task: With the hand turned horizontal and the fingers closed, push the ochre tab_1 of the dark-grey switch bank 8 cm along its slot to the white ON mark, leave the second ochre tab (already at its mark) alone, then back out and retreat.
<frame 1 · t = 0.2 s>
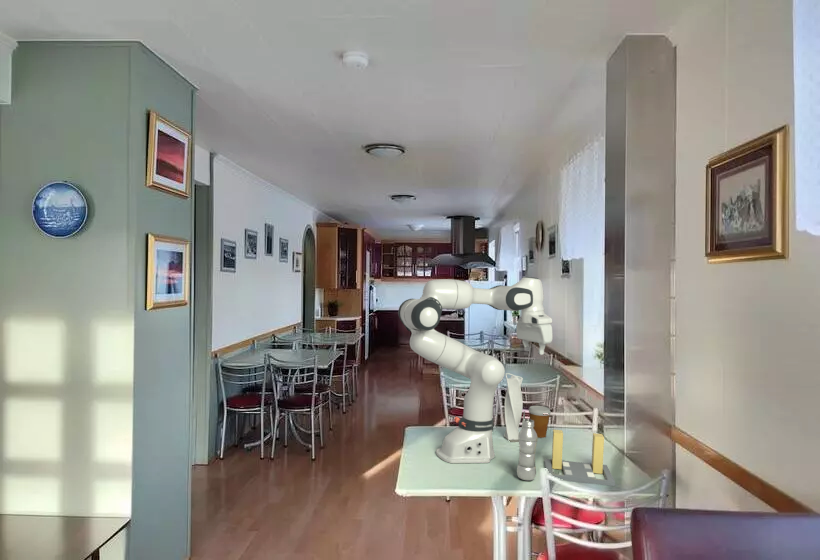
hand: (534, 352, 210), 39 cm above the table, tool pointing down, fingers open, 8 cm apart
disposable coffee cup: (538, 436, 231), on the table
tab 1: (597, 453, 191), point 7 cm above the table, slide at 0.0 cm
tab 2: (557, 449, 193), point 7 cm above the table, slide at 0.0 cm
switch bank: (577, 473, 188), on the table
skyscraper: (512, 439, 225), on the table
coffee jar: (474, 432, 232), on the table
plastic bottle: (526, 479, 181), on the table
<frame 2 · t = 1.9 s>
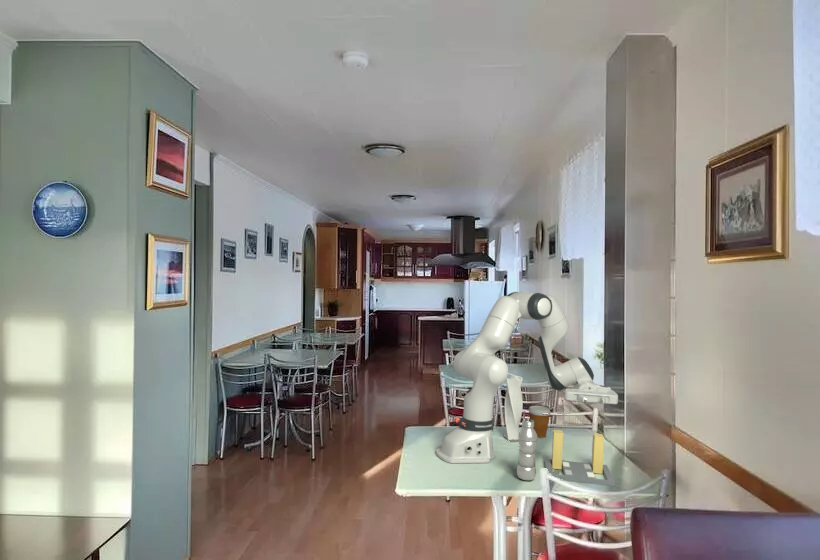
hand: (593, 400, 205), 22 cm above the table, tool horizontal, fingers open, 5 cm apart
nothing on the table moved.
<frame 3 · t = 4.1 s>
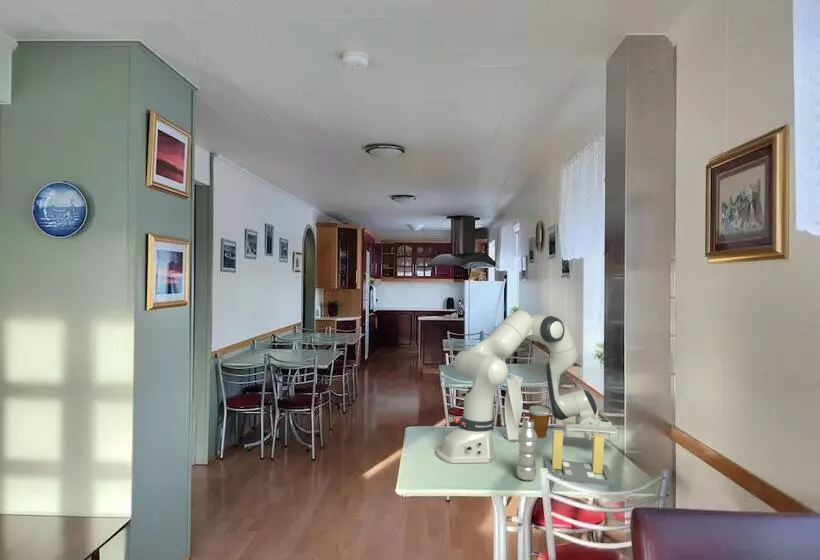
hand: (593, 438, 205), 8 cm above the table, tool horizontal, fingers closed
disposable coffee cup: (538, 436, 231), on the table, touching arm
everything else where it was.
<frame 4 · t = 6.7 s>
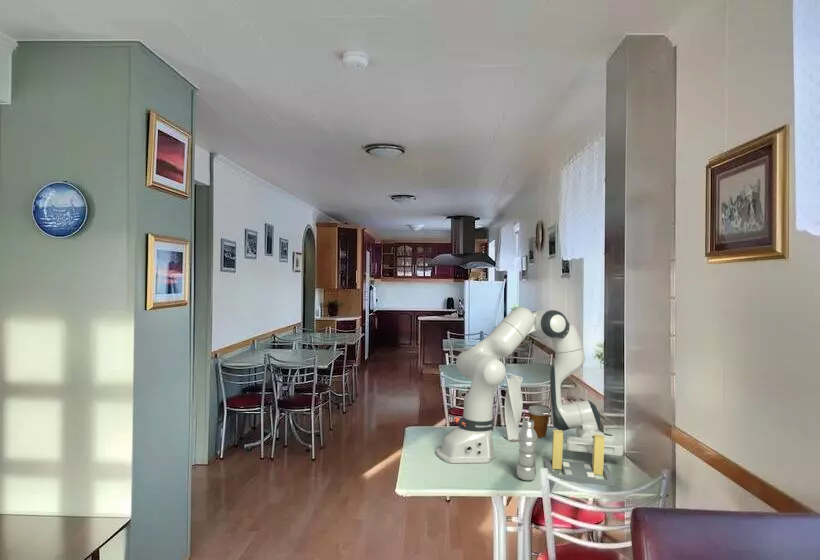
hand: (597, 453, 191), 6 cm above the table, tool horizontal, fingers closed, pressing on tab 1
disposable coffee cup: (538, 435, 231), on the table
tab 1: (598, 454, 189), point 7 cm above the table, slide at 1.2 cm, touching gripper
everything else where it was.
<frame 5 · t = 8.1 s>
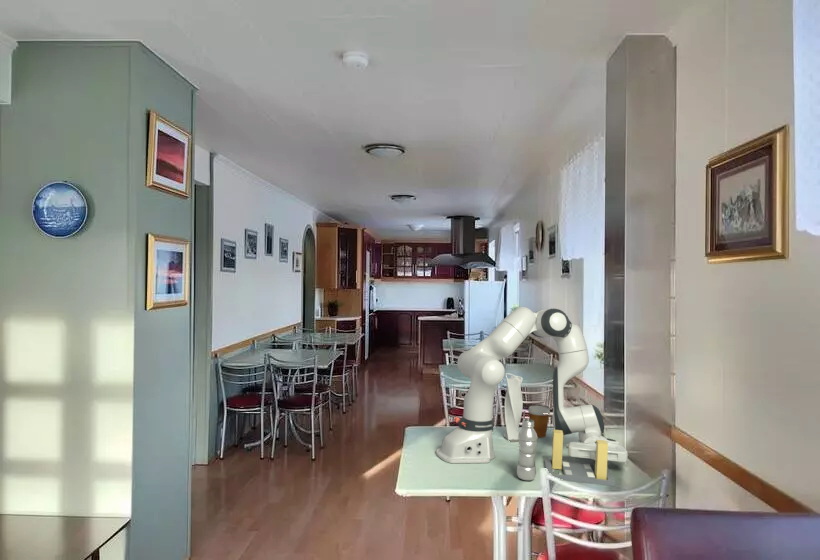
hand: (600, 459, 185), 6 cm above the table, tool horizontal, fingers closed, pressing on tab 1
tab 1: (601, 460, 183), point 7 cm above the table, slide at 7.8 cm, touching gripper
everything else where it was.
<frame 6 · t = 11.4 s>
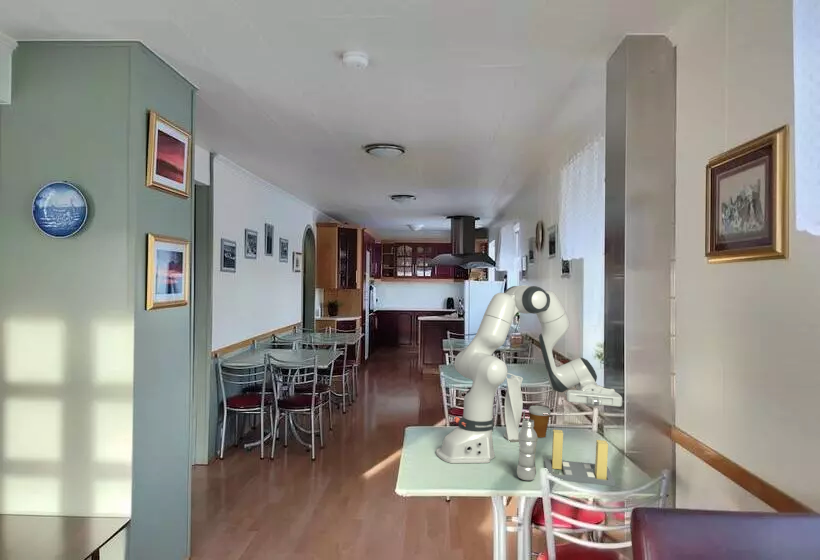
hand: (596, 402, 197), 23 cm above the table, tool horizontal, fingers closed
tab 1: (601, 460, 183), point 7 cm above the table, slide at 7.9 cm
everything else where it was.
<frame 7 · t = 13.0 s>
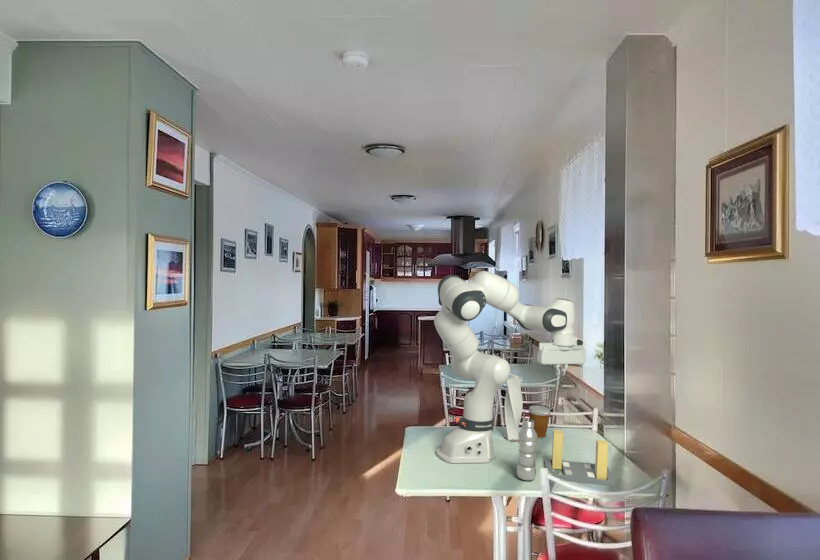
hand: (560, 375, 208), 31 cm above the table, tool pointing down, fingers closed
nothing on the table moved.
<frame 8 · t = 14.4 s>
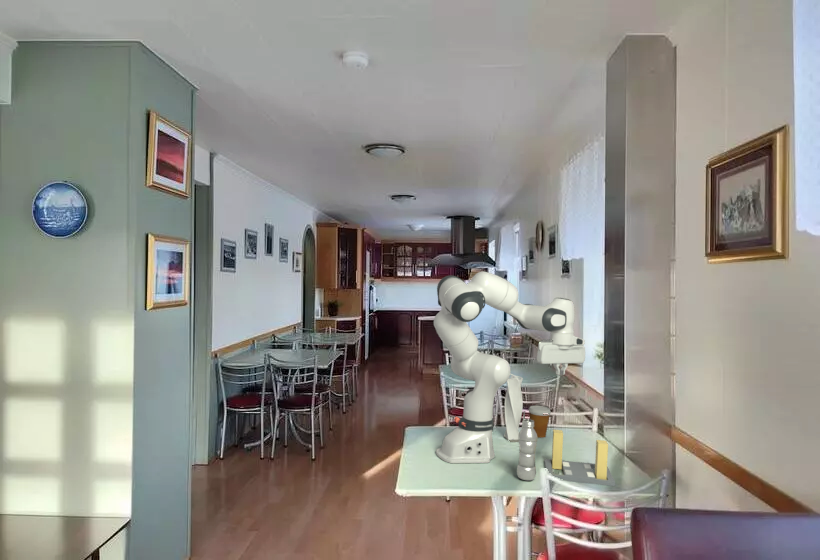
hand: (560, 374, 208), 31 cm above the table, tool pointing down, fingers closed
nothing on the table moved.
at the end: tab 1 slide at 7.9 cm; tab 2 slide at 0.0 cm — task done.
